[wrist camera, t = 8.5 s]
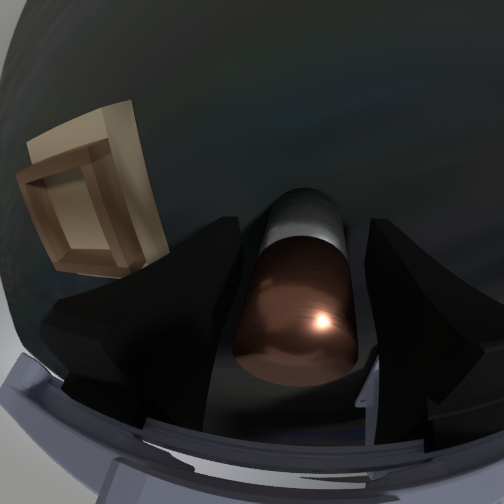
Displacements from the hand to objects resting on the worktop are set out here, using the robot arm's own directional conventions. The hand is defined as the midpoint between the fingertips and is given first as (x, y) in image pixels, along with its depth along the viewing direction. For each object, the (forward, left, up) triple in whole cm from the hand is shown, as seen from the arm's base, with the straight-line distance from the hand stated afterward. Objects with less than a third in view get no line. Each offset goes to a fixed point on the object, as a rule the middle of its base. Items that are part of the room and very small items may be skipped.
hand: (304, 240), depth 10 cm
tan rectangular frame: (+2, +10, -1) cm, 10 cm away
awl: (0, 0, -1) cm, 1 cm away
